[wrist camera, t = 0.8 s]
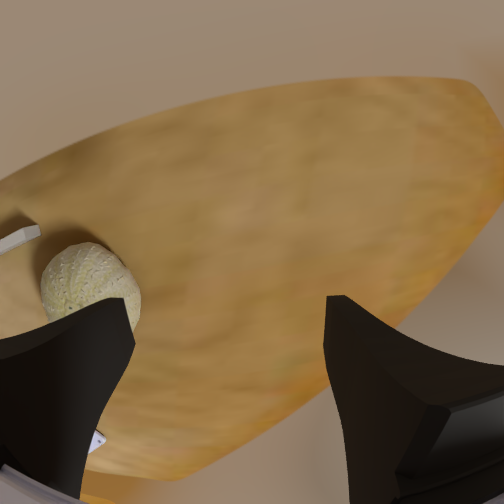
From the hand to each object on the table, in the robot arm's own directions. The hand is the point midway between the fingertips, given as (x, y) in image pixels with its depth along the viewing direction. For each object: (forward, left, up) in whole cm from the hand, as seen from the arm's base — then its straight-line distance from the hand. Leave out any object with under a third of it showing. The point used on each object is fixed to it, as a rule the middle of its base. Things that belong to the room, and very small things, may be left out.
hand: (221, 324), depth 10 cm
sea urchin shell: (-11, +5, -14) cm, 19 cm away
